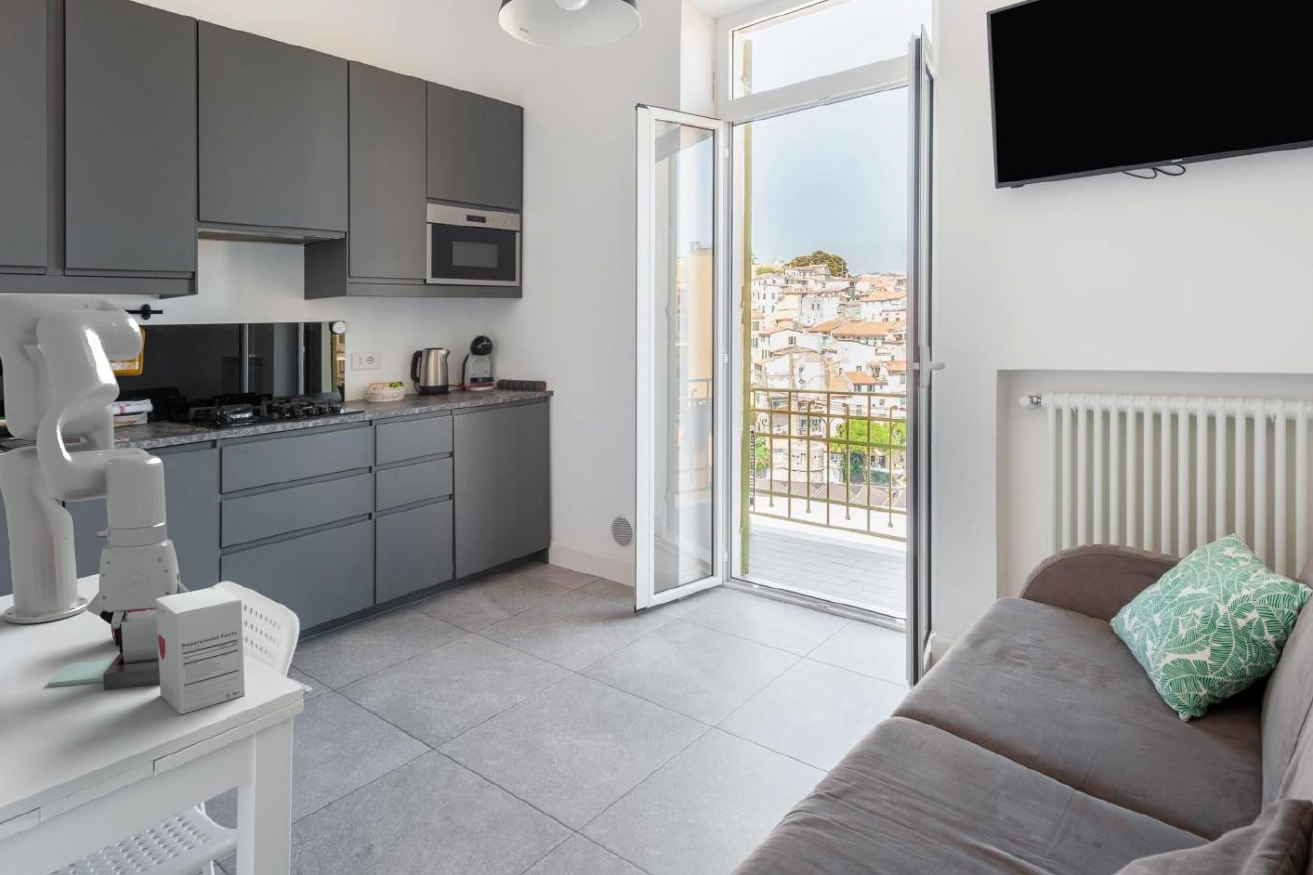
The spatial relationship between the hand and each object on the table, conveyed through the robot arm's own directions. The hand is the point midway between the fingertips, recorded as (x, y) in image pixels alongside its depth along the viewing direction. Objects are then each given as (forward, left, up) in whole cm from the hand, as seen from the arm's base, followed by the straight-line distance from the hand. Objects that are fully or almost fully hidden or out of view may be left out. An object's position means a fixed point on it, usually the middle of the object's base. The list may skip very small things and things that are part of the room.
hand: (144, 646), depth 123 cm
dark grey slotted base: (-2, 0, -4) cm, 4 cm away
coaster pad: (-1, -8, -4) cm, 9 cm away
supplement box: (+12, +10, -4) cm, 16 cm away
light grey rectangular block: (0, 0, -4) cm, 4 cm away
